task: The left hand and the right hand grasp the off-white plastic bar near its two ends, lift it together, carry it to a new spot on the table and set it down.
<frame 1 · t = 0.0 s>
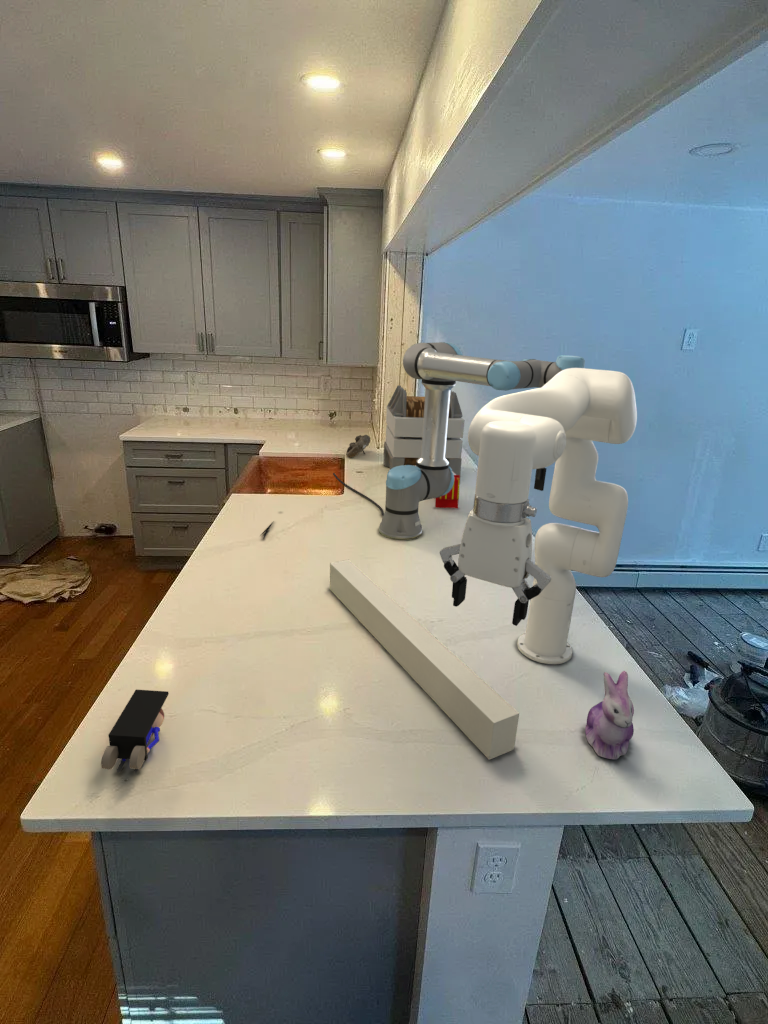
left hand: (552, 485, 166), 28 cm above the counter, tool pointing down, fingers open, 13 cm apart
right hand: (487, 612, 88), 31 cm above the counter, tool pointing down, fingers open, 9 cm apart
feather: (271, 525, 202), on the counter
fossil: (358, 454, 305), on the counter
red striped box: (441, 497, 240), on the counter
grey slatted crate: (419, 473, 275), on the counter
figurine character: (140, 750, 99), on the counter
figurine: (608, 743, 106), on the counter
bar: (402, 652, 131), on the counter
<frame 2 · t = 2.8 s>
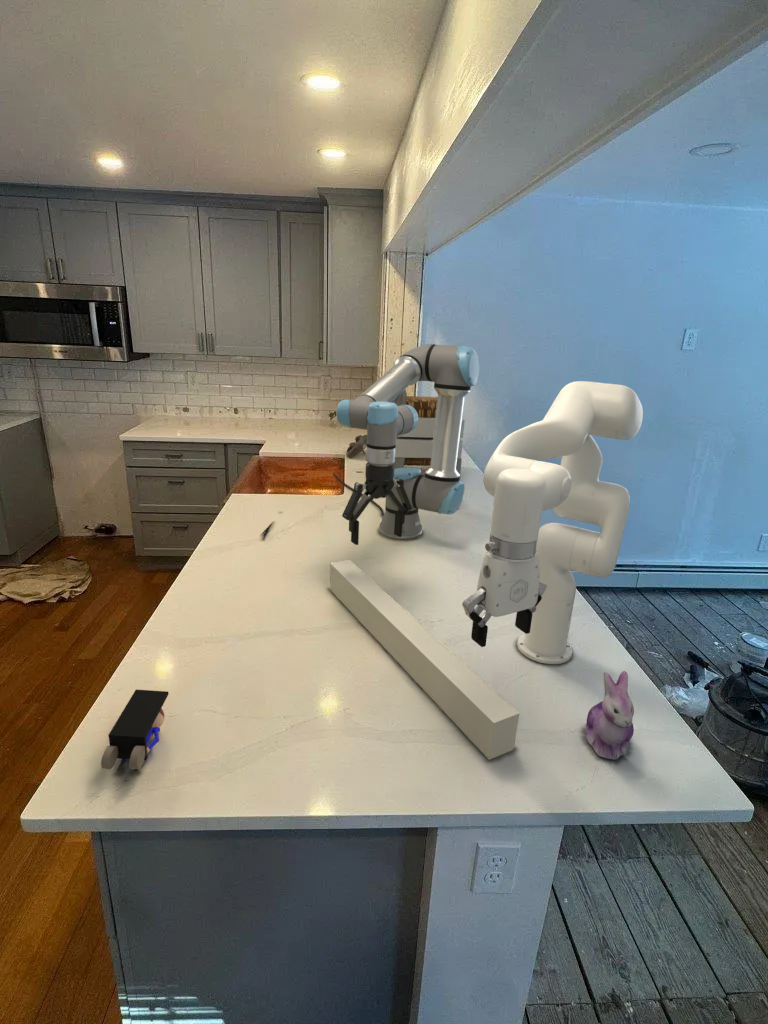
left hand: (376, 539, 154), 16 cm above the counter, tool pointing down, fingers open, 13 cm apart
right hand: (500, 636, 98), 22 cm above the counter, tool pointing down, fingers open, 9 cm apart
nothing on the counter moved.
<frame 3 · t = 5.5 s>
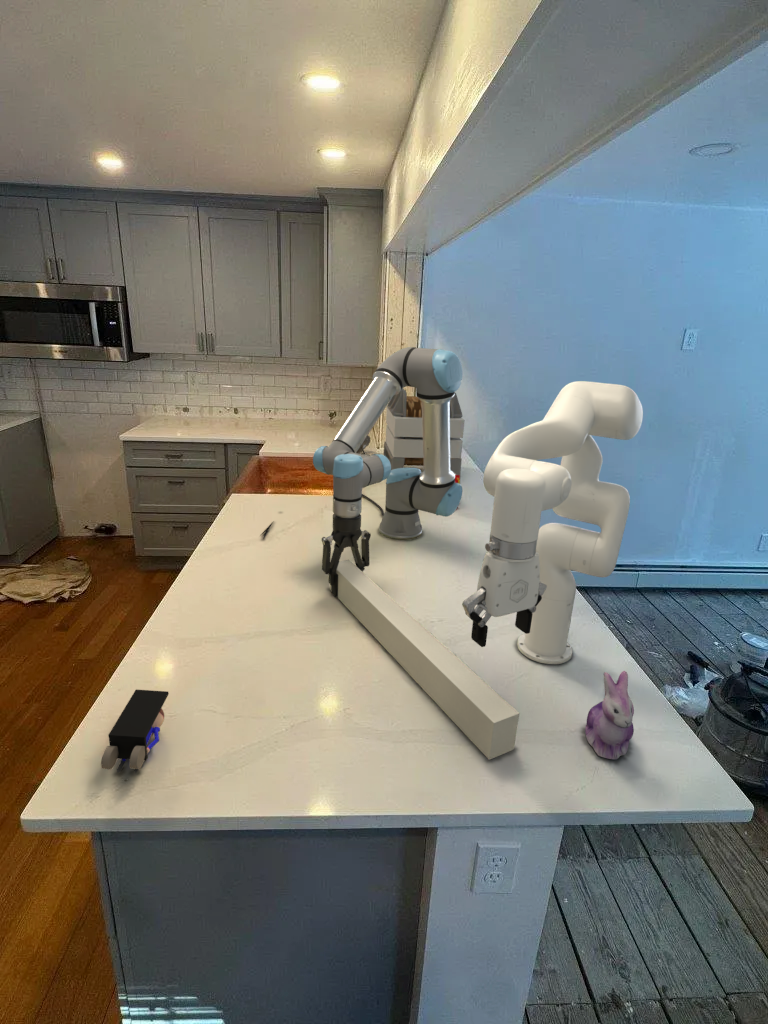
left hand: (345, 592, 157), 0 cm above the counter, tool pointing down, fingers closed on bar, 6 cm apart
right hand: (500, 636, 98), 22 cm above the counter, tool pointing down, fingers open, 9 cm apart
bar: (402, 652, 131), on the counter, touching left hand
everything else where it was.
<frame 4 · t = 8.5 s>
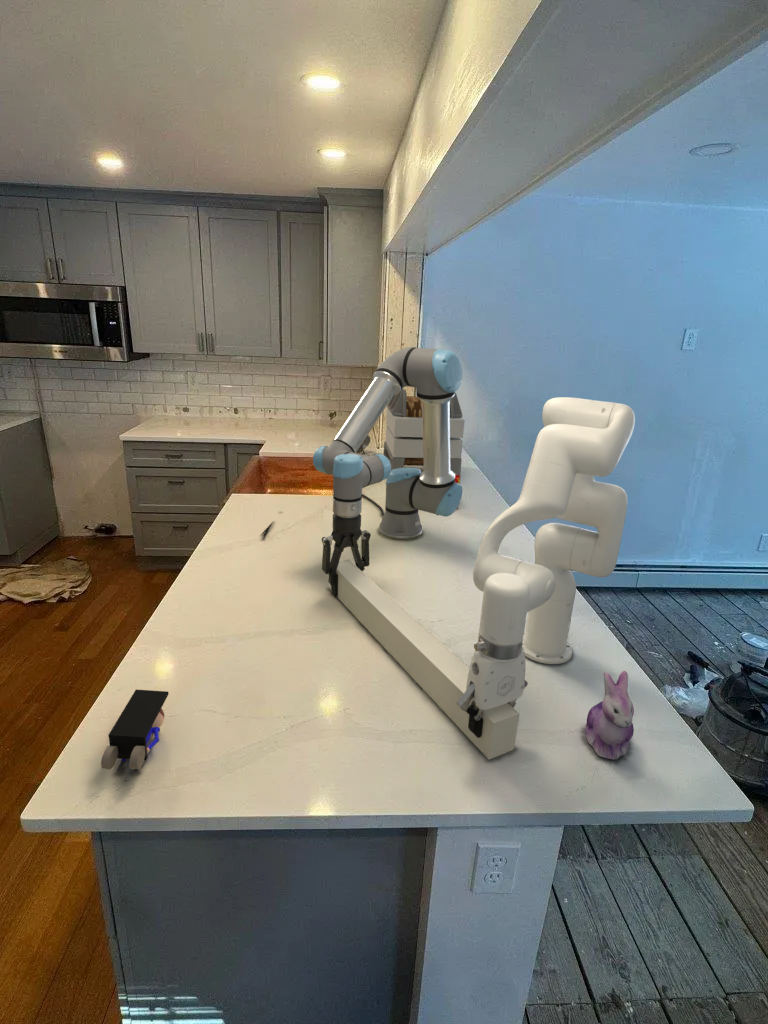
left hand: (345, 592, 157), 0 cm above the counter, tool pointing down, fingers closed on bar, 6 cm apart
right hand: (488, 726, 105), 3 cm above the counter, tool pointing down, fingers closed on bar, 5 cm apart
bar: (402, 652, 131), on the counter, touching left hand, right hand
everything else where it was.
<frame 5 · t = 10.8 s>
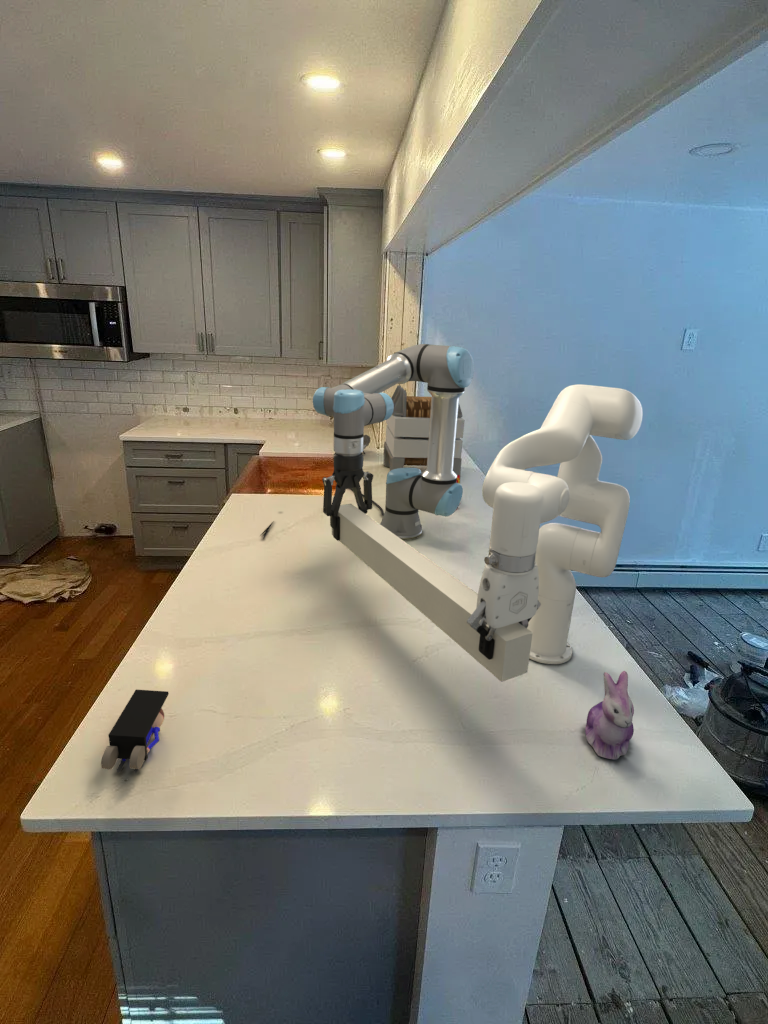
left hand: (347, 536, 152), 17 cm above the counter, tool pointing down, fingers closed on bar, 6 cm apart
right hand: (500, 649, 100), 19 cm above the counter, tool pointing down, fingers closed on bar, 5 cm apart
bar: (408, 588, 126), point 16 cm above the counter, touching left hand, right hand
everything else where it was.
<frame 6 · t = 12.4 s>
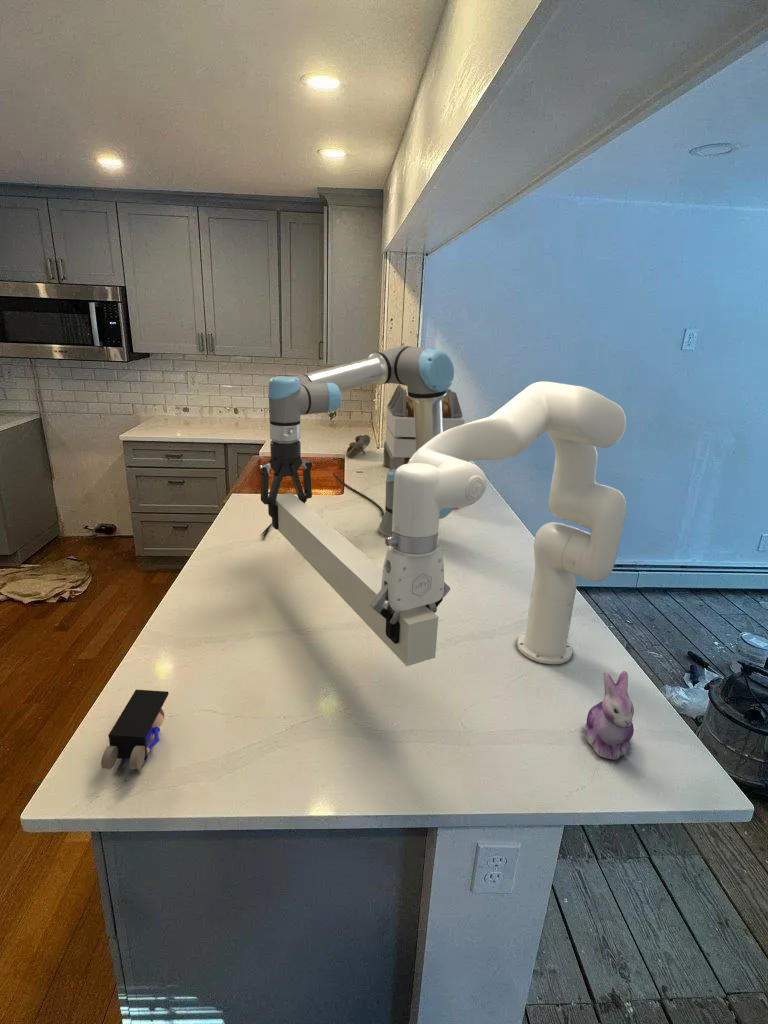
left hand: (287, 525, 150), 19 cm above the counter, tool pointing down, fingers closed on bar, 6 cm apart
right hand: (409, 634, 99), 22 cm above the counter, tool pointing down, fingers closed on bar, 5 cm apart
bar: (335, 576, 125), point 19 cm above the counter, touching left hand, right hand
everything else where it was.
when the left hand's fingers open (2 cm above the counter, at t = 16.2 s): bar drops 1 cm, on the counter.
when the right hand's fingers open (4 cm above the counter, at t = 16.4 s): bar stays where it is, on the counter.
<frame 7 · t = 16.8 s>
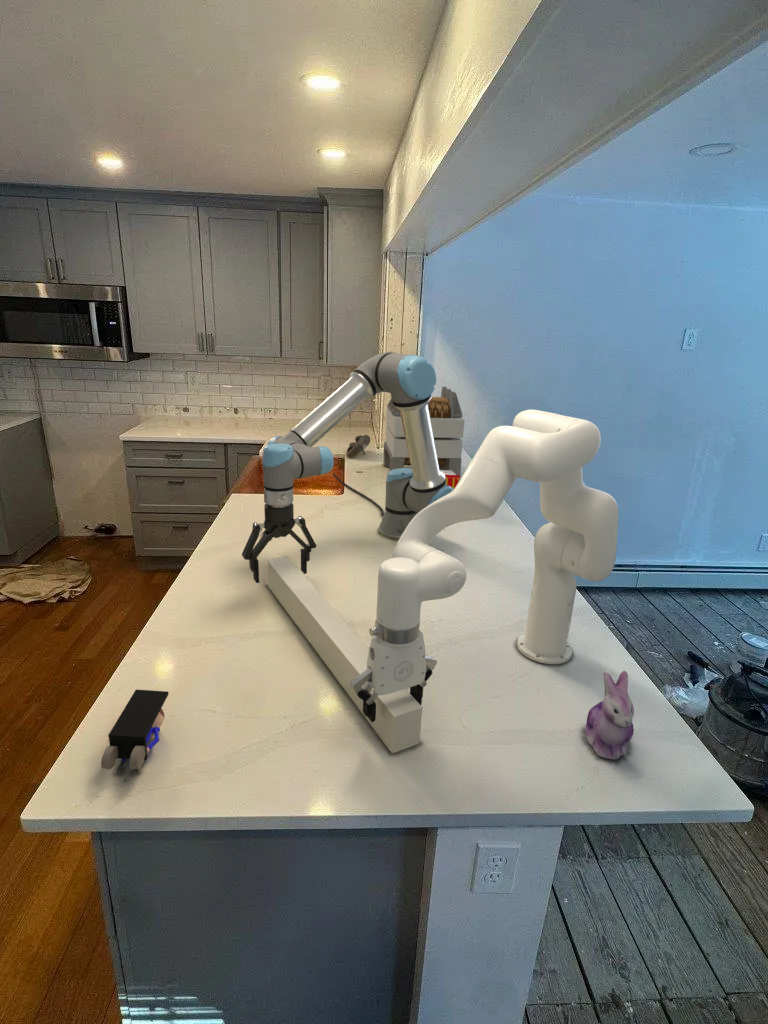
left hand: (280, 576, 156), 4 cm above the counter, tool pointing down, fingers open, 13 cm apart
right hand: (392, 709, 104), 6 cm above the counter, tool pointing down, fingers open, 9 cm apart
bar: (327, 647, 131), on the counter
everything else where it was.
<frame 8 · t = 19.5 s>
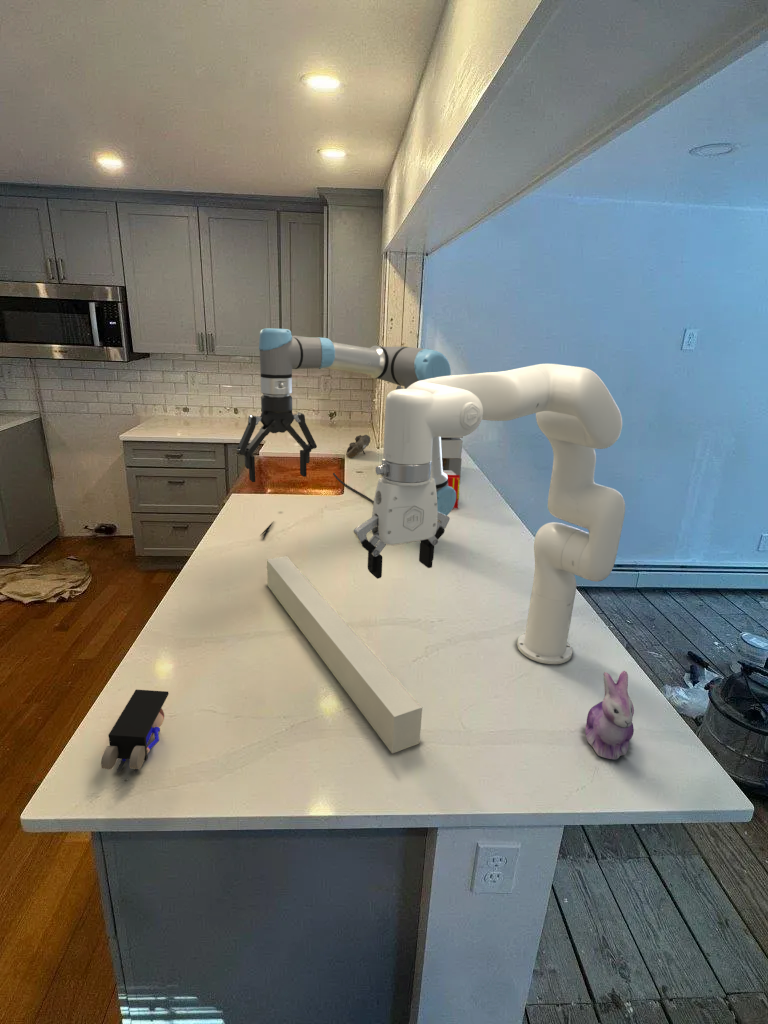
left hand: (278, 478, 146), 32 cm above the counter, tool pointing down, fingers open, 13 cm apart
right hand: (400, 569, 94), 34 cm above the counter, tool pointing down, fingers open, 9 cm apart
nothing on the counter moved.
at the end: bar inside the target area (0.5 cm from its centre), on the counter; bar tilted 0°; bar never tilted more than 2° during the clip; both hands held the bar at the same time; the left hand is holding nothing; the right hand is holding nothing; bar at rest at the end (0.0 cm/s) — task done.
